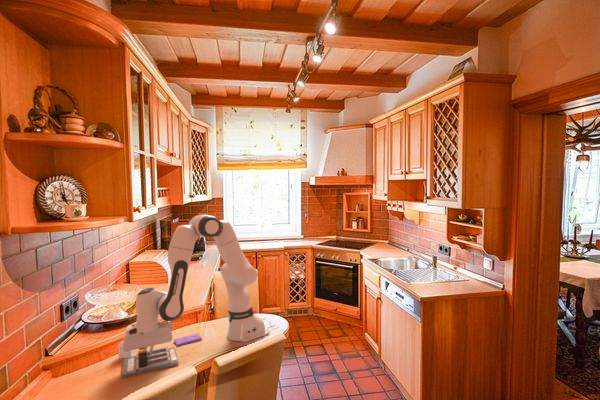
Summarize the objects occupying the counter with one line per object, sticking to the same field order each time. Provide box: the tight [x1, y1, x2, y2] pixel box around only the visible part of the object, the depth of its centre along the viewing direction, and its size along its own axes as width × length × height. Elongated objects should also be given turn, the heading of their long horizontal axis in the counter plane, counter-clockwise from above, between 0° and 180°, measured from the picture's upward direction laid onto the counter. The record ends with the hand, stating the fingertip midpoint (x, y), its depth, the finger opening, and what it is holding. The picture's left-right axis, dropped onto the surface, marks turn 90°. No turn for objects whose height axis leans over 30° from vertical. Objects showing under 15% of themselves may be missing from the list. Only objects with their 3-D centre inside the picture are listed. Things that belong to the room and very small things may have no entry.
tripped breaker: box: [137, 349, 146, 357], centre depth 144 cm, size 3×3×5 cm
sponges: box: [173, 333, 203, 347], centre depth 168 cm, size 7×13×2 cm, turn 124°
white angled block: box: [117, 340, 136, 359], centre depth 153 cm, size 4×10×9 cm
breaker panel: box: [121, 346, 179, 379], centre depth 146 cm, size 22×16×6 cm
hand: (149, 355), depth 145 cm, fingers closed
